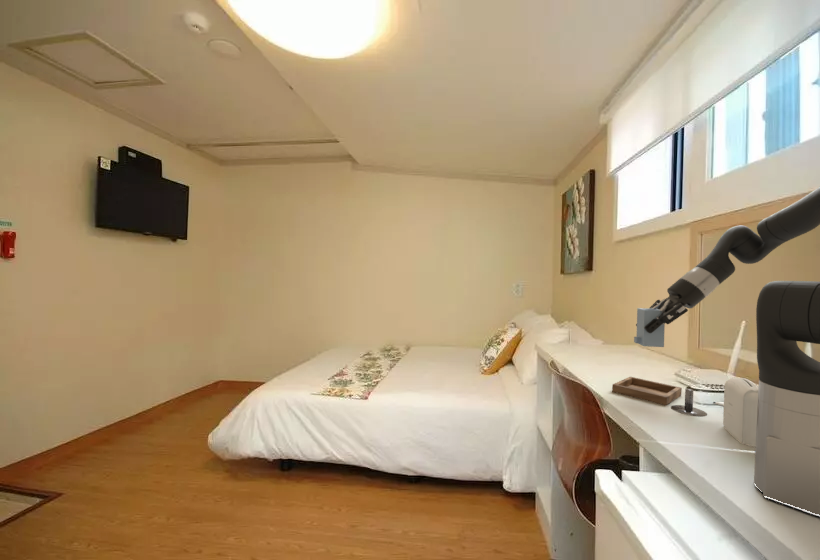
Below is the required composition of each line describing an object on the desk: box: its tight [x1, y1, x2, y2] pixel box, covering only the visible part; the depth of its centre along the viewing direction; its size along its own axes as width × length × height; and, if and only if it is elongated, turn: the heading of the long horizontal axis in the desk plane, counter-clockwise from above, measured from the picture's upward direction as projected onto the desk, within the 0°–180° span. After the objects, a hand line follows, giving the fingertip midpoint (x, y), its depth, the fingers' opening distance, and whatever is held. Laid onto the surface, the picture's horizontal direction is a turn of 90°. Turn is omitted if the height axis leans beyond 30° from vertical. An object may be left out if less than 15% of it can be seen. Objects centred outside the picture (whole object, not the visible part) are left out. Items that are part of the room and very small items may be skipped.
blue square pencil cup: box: [633, 307, 666, 348], centre depth 102 cm, size 5×6×10 cm
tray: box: [612, 376, 683, 407], centre depth 102 cm, size 13×13×2 cm
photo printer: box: [722, 376, 759, 448], centre depth 76 cm, size 10×4×12 cm, turn 157°
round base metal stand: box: [670, 388, 708, 417], centre depth 90 cm, size 7×7×6 cm
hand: (642, 329), depth 102 cm, fingers closed on blue square pencil cup, 5 cm apart
